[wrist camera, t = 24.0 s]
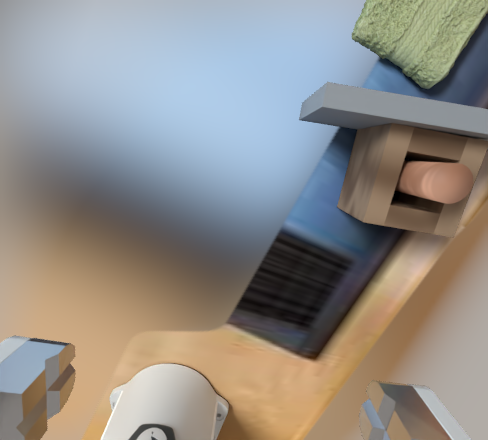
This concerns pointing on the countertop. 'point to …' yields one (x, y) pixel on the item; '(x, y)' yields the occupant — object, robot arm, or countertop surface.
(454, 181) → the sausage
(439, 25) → the washcloth
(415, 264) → the countertop surface
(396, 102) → the wall
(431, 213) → the block
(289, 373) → the countertop surface
